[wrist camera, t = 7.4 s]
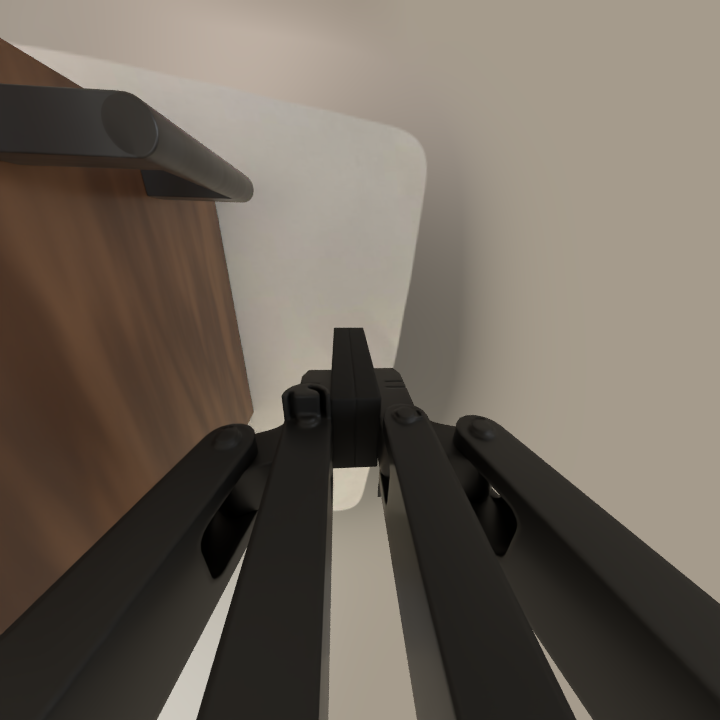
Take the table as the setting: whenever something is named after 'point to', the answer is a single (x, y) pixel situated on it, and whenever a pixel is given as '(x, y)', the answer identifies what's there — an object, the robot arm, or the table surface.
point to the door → (102, 314)
